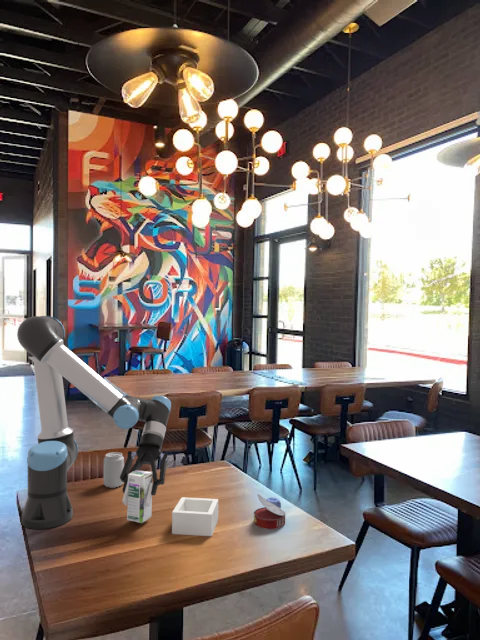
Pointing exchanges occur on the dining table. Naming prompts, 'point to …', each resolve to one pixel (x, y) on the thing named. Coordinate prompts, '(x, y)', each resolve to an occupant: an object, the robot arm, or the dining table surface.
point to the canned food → (269, 515)
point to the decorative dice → (275, 501)
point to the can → (113, 469)
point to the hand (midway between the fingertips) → (136, 503)
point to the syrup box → (138, 496)
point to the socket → (195, 516)
